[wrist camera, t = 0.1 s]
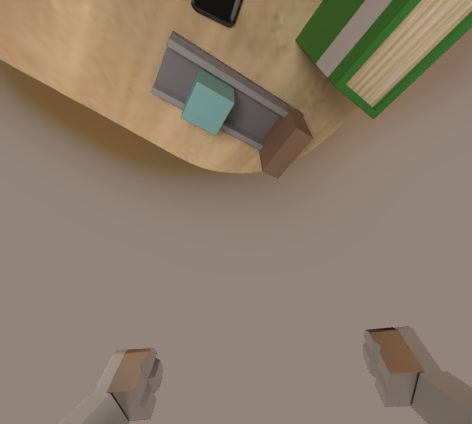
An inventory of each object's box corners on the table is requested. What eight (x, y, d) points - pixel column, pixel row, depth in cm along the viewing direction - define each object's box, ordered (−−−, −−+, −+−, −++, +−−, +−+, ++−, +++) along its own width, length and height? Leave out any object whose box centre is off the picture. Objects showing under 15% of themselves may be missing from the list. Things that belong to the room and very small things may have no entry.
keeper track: (173, 30, 45) (161, 46, 37) (302, 113, 57) (314, 139, 48) (153, 87, 52) (140, 111, 44) (272, 151, 63) (279, 179, 55)
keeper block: (201, 65, 48) (197, 81, 41) (233, 84, 50) (234, 103, 44) (186, 98, 52) (180, 117, 46) (217, 114, 55) (215, 135, 48)
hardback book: (379, -82, 37) (511, -117, 20) (408, -42, 40) (544, -42, 23) (295, 40, 47) (334, 86, 30) (323, 64, 50) (373, 119, 33)
